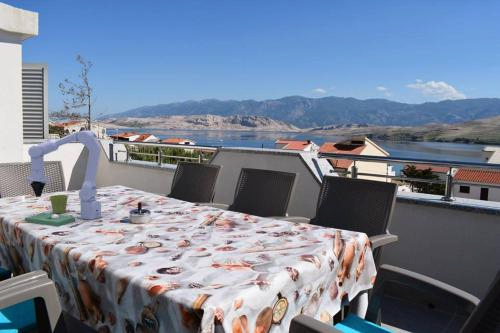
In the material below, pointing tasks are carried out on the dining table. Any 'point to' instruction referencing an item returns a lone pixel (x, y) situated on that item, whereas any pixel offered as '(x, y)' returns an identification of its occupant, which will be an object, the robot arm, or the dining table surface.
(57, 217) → the ball
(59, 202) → the plant pot
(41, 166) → the robot arm
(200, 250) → the dining table surface
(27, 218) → the putting mat
